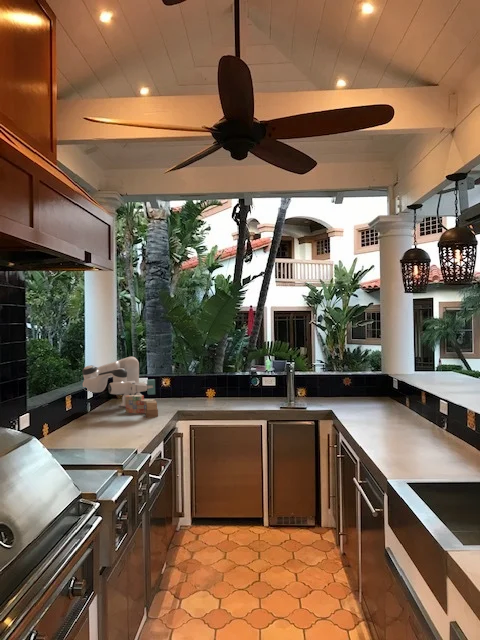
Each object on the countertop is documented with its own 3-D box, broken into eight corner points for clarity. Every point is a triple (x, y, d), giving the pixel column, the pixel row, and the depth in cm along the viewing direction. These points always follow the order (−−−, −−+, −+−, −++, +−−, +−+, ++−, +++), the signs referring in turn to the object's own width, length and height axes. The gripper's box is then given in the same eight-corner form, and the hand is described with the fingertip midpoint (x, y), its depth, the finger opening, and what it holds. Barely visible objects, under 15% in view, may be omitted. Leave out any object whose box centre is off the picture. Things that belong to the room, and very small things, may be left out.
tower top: (146, 408, 344) (146, 401, 344) (156, 407, 346) (156, 400, 346) (147, 410, 338) (146, 403, 338) (157, 409, 339) (156, 402, 339)
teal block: (147, 393, 344) (147, 379, 344) (154, 393, 345) (154, 379, 345) (148, 394, 339) (147, 380, 339) (155, 394, 340) (155, 380, 340)
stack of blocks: (155, 411, 358) (155, 395, 358) (151, 413, 352) (151, 396, 352) (129, 411, 363) (129, 394, 363) (125, 412, 357) (125, 396, 357)
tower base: (145, 415, 344) (145, 408, 344) (156, 414, 347) (156, 407, 347) (146, 417, 337) (146, 410, 337) (158, 416, 339) (157, 409, 339)
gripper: (131, 389, 348) (150, 388, 352) (133, 393, 329) (154, 392, 332) (131, 381, 348) (150, 380, 352) (133, 384, 329) (153, 383, 332)
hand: (152, 386), depth 342 cm, fingers closed on teal block, 5 cm apart
